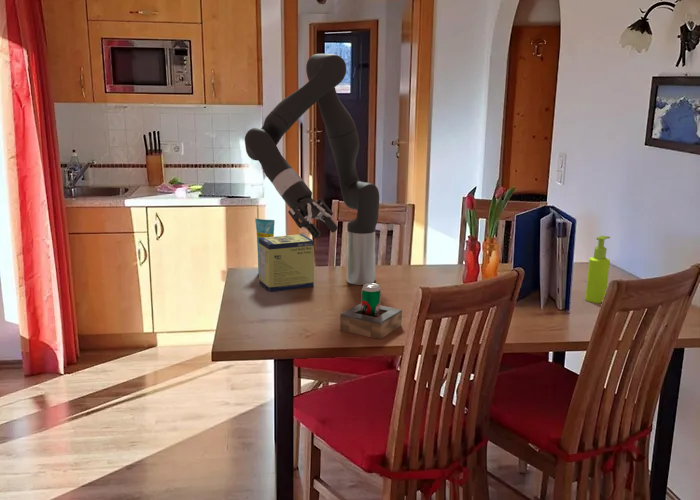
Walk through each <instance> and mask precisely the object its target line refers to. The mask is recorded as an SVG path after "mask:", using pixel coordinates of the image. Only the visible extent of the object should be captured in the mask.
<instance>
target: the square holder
mask: <svg viewBox="0 0 700 500" xmlns="http://www.w3.org/2000/svg"><path fill="white" fill-rule="evenodd" d="M402 313H403V310H402V309H399V308H395V307H391V306H385V305H381V304H380V316H378V317H372V316H367V315H362V314H361V303H359V304H357V305H355V306H353V307H351V308H349V309H347V310H345V311H343V312H341V313H340V329H339V330H340V331H343V332H347V333H352V334H356V335H360V336H364V337H368V338H373V339H378V340H382V339H383V338H385V337H386V336H388V335H389V334H391V333H393V331H396V330H397V329H399V328H400V327H402V323H403V322H402V319H403V318H402V317H403V314H402ZM395 329H396V330H395Z"/></svg>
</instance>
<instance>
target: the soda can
mask: <svg viewBox="0 0 700 500" xmlns="http://www.w3.org/2000/svg"><path fill="white" fill-rule="evenodd" d="M360 301H361V302H360V304H361V314H362V315H367V316H372V317H378V316H380V305H381V288H380V285H379V284H377V283H375V282H373V283H368V284H364V285H363V286H362V288H361V300H360Z"/></svg>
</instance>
